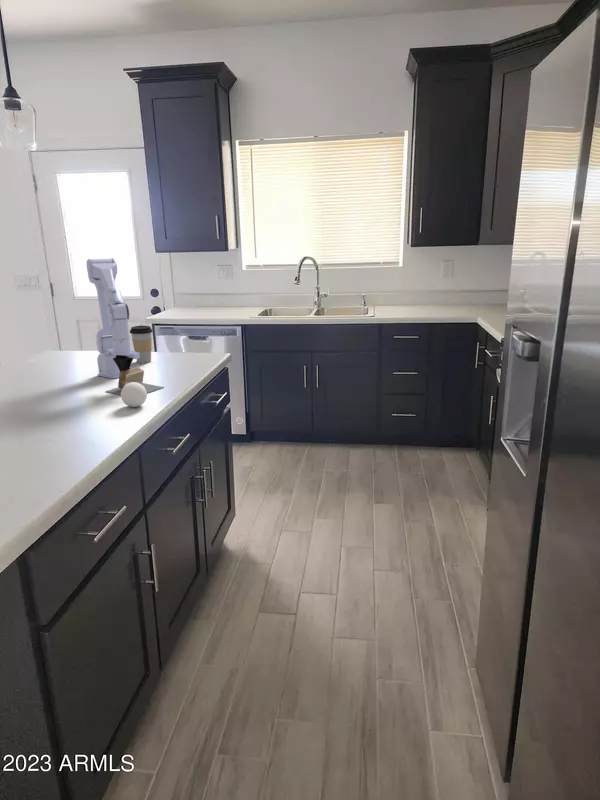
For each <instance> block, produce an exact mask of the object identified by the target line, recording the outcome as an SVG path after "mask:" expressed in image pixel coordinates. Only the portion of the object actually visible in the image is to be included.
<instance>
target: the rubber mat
mask: <svg viewBox="0 0 600 800" xmlns="http://www.w3.org/2000/svg"><path fill="white" fill-rule="evenodd" d="M142 385H143V386H144V388H145V389H146V392H147V395H148V394H150V393H153V392H157V391H159V390H162V389H164V388H165V387H164V386H159V385H156V384H155V385H154V384H150V383H144V382H143V383H142ZM161 388H162V389H161ZM121 391H122V389H120V388H119V387H118V386H117V387H116V388H112V389H109V390H106V391H105V393H107V394H108V393H109V394H112V395H117V396H121Z"/></svg>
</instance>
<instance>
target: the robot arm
mask: <svg viewBox="0 0 600 800" xmlns="http://www.w3.org/2000/svg"><path fill="white" fill-rule="evenodd" d="M86 270H87V276H88V280H89V283H92V284H94V286H95V290H96V294H97V300H98V305H99V306H98V307H99V314H100V321H101V326H102V328H100V330H98V331H97V333H96V336H95V337H96V348H97V351H98V352H99V353H98V356H97V361H96V362H97V367H98V373H97V374H96V376H97V377H103V378H107V379H108V378H109V379H117V378H119V373H120V372H121V371H125V370H128V369H131V366H132V363H133V360H137V359H138V358H140V355H139V353H138V352H135V351H134V350H133V349H132V345H131V338H130V337H131V336H130V327H129V320H130V309H129V305H128V304H127V302H126V301H124V299H123V295H122V293H121V290H120V289H119V288H118V287H116V282H115V281H116V278H117V274H118V265H117V261H116V259H115V258H112V257H111V258H93V259H92V258H91V259H90V258H88V259H87V260H86Z"/></svg>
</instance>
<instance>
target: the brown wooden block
mask: <svg viewBox="0 0 600 800" xmlns="http://www.w3.org/2000/svg"><path fill="white" fill-rule="evenodd" d="M144 374H145V370H144V369H141V368H139V366H136V367H132V368H130V369H128V370H125V371H121V372H120V373H119V377H118V383H117V385H118V386H117V388H118V387H119V388H120V389H123V387H124V386H125V385H126V384H128V383H131V382H136V383H139V384H141V385H142V383H144Z"/></svg>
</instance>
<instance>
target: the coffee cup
mask: <svg viewBox="0 0 600 800" xmlns="http://www.w3.org/2000/svg"><path fill="white" fill-rule="evenodd" d="M152 332H153V329H152V328H151V326H150V325H134V326H132V327H130V329H129V334H131V341H132V345H133V351H135V352H138V353H139V355H140V358H138V359H136V362H137V363H138V364H148V363H150V362H151V363H152V349H153V348H152V347H153V344H152V343H153V342H152V339H153V338H152Z"/></svg>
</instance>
